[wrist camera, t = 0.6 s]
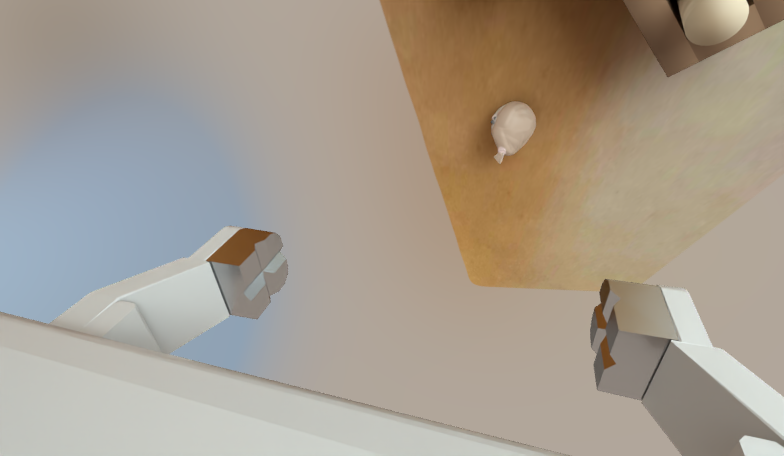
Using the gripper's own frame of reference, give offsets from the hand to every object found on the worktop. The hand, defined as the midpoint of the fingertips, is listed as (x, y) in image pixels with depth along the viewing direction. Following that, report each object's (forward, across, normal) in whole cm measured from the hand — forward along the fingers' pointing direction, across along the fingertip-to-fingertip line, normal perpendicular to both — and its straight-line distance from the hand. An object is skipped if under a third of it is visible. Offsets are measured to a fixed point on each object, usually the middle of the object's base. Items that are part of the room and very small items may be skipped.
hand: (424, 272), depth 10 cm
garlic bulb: (+54, -1, +13) cm, 55 cm away
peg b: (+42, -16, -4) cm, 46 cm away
